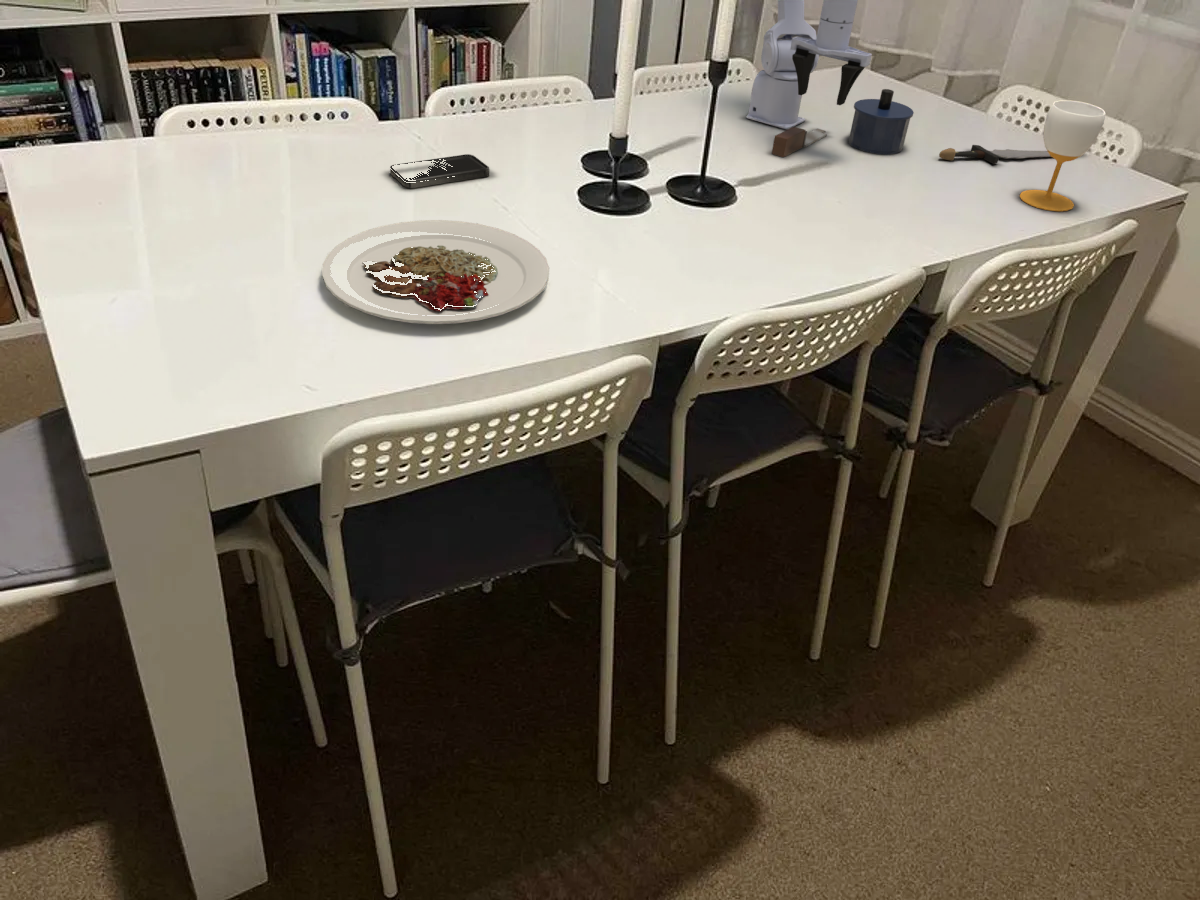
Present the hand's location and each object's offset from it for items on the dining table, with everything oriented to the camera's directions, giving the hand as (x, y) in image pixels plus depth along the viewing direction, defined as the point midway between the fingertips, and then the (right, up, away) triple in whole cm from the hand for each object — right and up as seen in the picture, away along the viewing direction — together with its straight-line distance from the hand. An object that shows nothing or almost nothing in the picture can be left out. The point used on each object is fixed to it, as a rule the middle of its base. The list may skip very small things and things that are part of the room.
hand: (821, 98), depth 179 cm
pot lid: (+13, 0, +7) cm, 15 cm away
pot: (+13, -5, +11) cm, 17 cm away
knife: (-2, -6, +8) cm, 10 cm away
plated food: (-62, -41, -46) cm, 87 cm away
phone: (-67, -18, -16) cm, 71 cm away
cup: (+37, -21, -7) cm, 43 cm away
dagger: (+39, -8, +10) cm, 41 cm away
